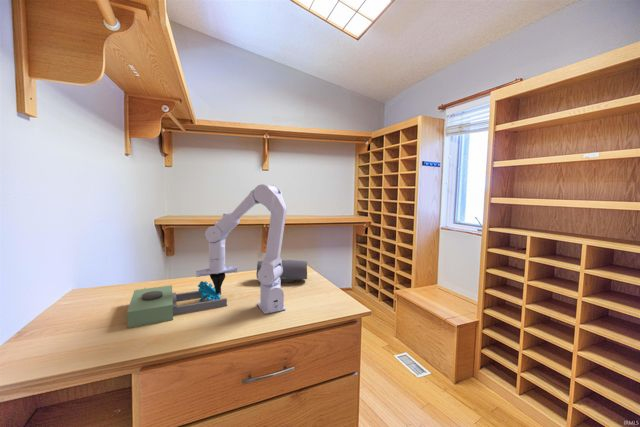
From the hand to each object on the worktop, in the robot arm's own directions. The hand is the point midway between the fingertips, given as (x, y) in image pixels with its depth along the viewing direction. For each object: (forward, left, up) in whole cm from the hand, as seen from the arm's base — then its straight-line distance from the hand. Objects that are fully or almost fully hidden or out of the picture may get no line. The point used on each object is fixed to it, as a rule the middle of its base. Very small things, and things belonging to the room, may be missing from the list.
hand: (217, 292), depth 103 cm
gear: (0, +3, -3) cm, 4 cm away
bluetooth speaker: (+10, -30, -3) cm, 32 cm away
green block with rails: (0, +12, -3) cm, 13 cm away
